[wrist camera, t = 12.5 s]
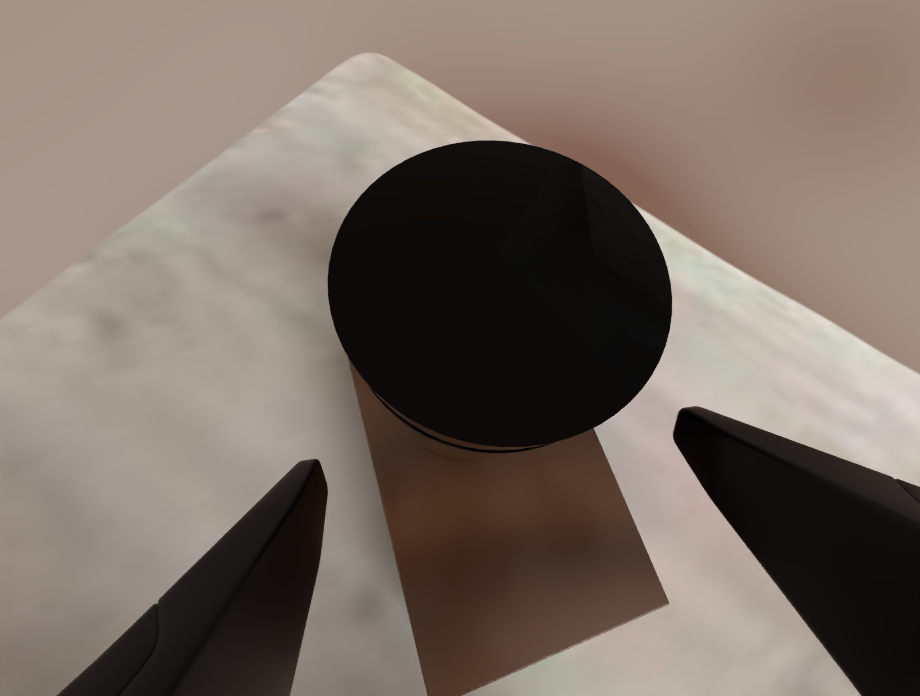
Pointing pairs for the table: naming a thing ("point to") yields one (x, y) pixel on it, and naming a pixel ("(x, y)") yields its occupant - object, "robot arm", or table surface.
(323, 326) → the table surface
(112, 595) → the table surface
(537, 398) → the supplement container
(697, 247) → the table surface
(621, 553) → the shelf
